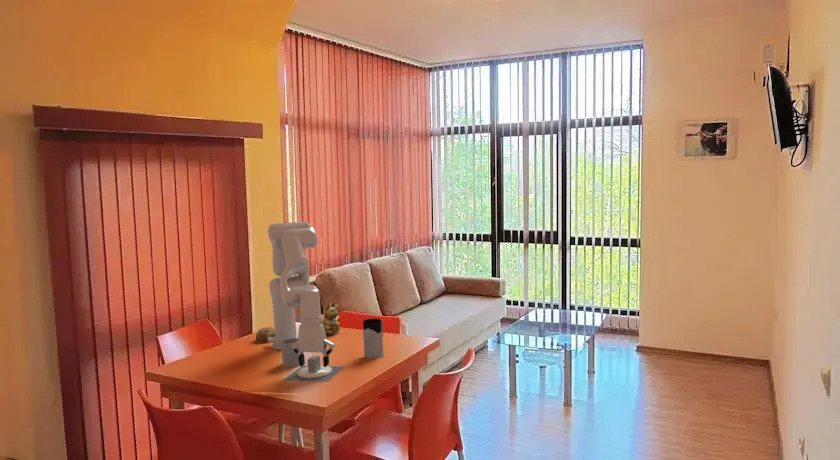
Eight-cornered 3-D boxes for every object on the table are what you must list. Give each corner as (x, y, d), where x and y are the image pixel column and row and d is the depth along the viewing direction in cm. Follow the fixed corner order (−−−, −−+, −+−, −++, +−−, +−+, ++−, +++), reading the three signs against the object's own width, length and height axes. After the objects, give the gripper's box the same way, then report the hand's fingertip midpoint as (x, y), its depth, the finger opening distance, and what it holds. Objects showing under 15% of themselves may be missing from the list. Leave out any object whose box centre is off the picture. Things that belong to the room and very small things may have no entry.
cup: (306, 362, 258) (304, 338, 257) (300, 368, 250) (299, 343, 249) (286, 362, 259) (284, 338, 258) (279, 368, 250) (278, 343, 250)
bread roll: (255, 347, 299) (248, 334, 296) (271, 334, 305) (264, 321, 302) (267, 350, 292) (260, 337, 289) (283, 337, 299) (276, 323, 295)
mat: (282, 381, 233) (282, 380, 233) (302, 366, 251) (302, 365, 251) (327, 383, 229) (327, 381, 229) (345, 368, 247) (345, 366, 247)
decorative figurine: (333, 336, 297) (331, 305, 296) (317, 335, 300) (315, 304, 299) (342, 331, 306) (340, 301, 305) (327, 330, 309) (325, 300, 308)
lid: (291, 378, 235) (290, 362, 235) (305, 367, 248) (304, 352, 247) (324, 378, 232) (323, 362, 232) (336, 368, 245) (335, 353, 244)
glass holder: (359, 358, 259) (357, 322, 257) (375, 349, 271) (373, 315, 270) (378, 360, 255) (376, 323, 254) (394, 350, 268) (392, 315, 267)
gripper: (285, 323, 237) (288, 368, 238) (328, 323, 233) (331, 369, 234) (294, 319, 244) (297, 362, 245) (336, 319, 240) (339, 363, 241)
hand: (314, 365), depth 240 cm, fingers open, 9 cm apart
